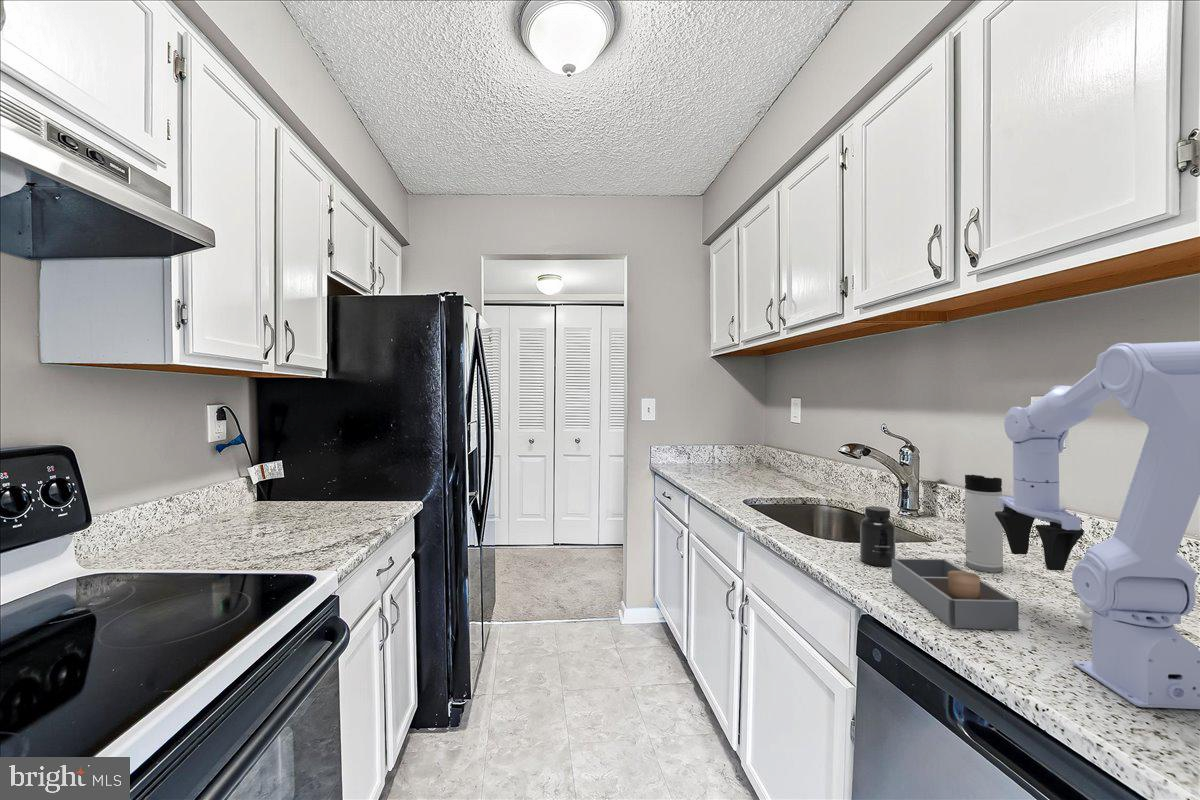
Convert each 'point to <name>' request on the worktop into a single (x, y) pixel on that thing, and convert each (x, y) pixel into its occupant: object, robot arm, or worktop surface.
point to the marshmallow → (1084, 615)
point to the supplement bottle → (877, 537)
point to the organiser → (931, 590)
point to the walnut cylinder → (963, 585)
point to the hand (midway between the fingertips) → (1036, 561)
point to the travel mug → (983, 524)
